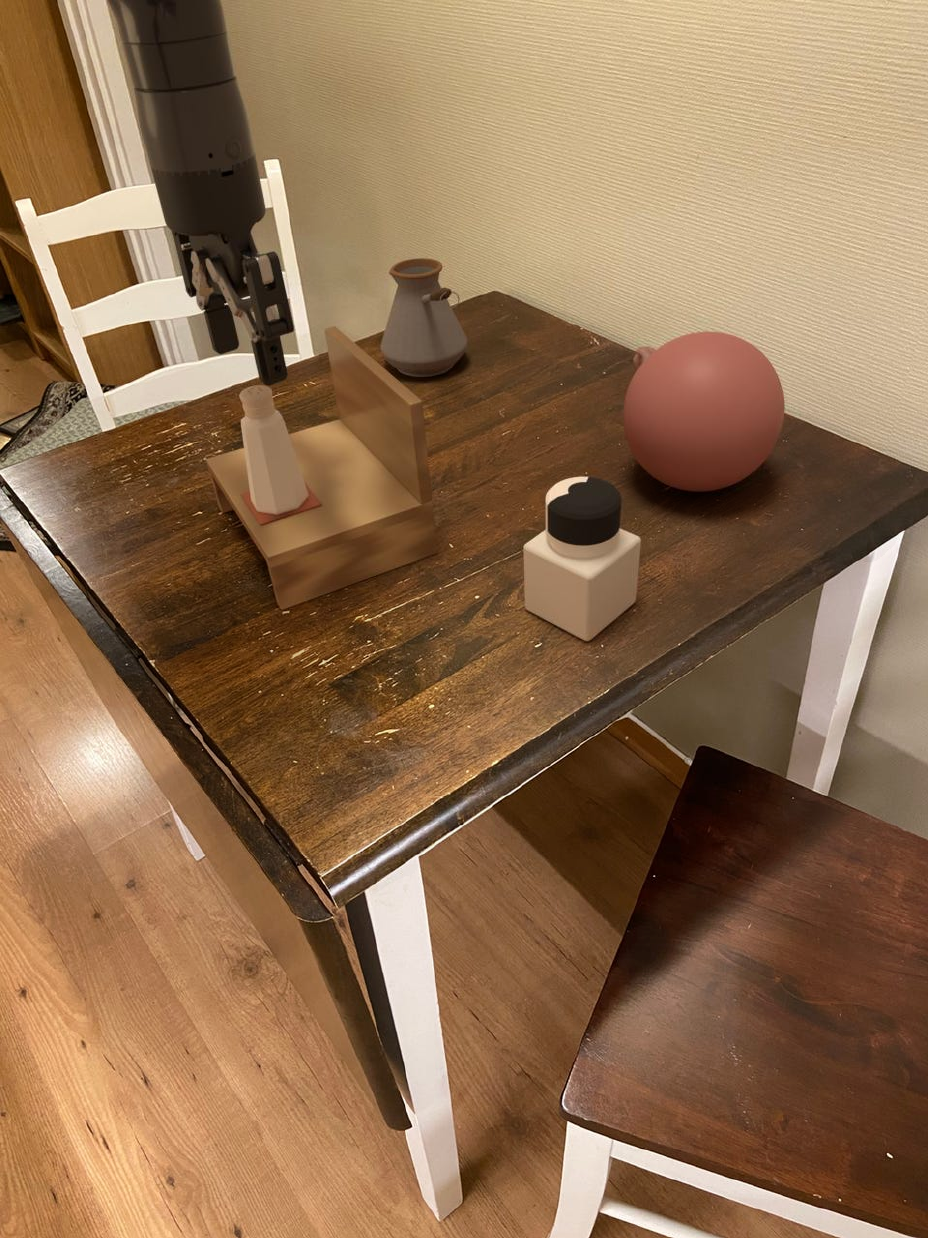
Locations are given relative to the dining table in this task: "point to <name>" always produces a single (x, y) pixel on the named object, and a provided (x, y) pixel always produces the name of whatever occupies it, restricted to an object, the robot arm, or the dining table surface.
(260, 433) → the pepper shaker
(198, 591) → the dining table surface
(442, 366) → the coffee pot
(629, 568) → the medicine bottle
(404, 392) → the shelf
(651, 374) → the balloon
